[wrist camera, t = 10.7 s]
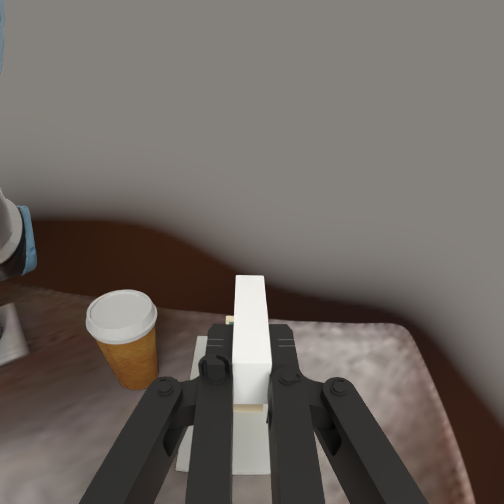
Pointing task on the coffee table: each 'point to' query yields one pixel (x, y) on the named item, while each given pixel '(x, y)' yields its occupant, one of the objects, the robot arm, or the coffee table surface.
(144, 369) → the disposable coffee cup
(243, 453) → the mat
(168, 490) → the coffee table surface
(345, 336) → the coffee table surface
